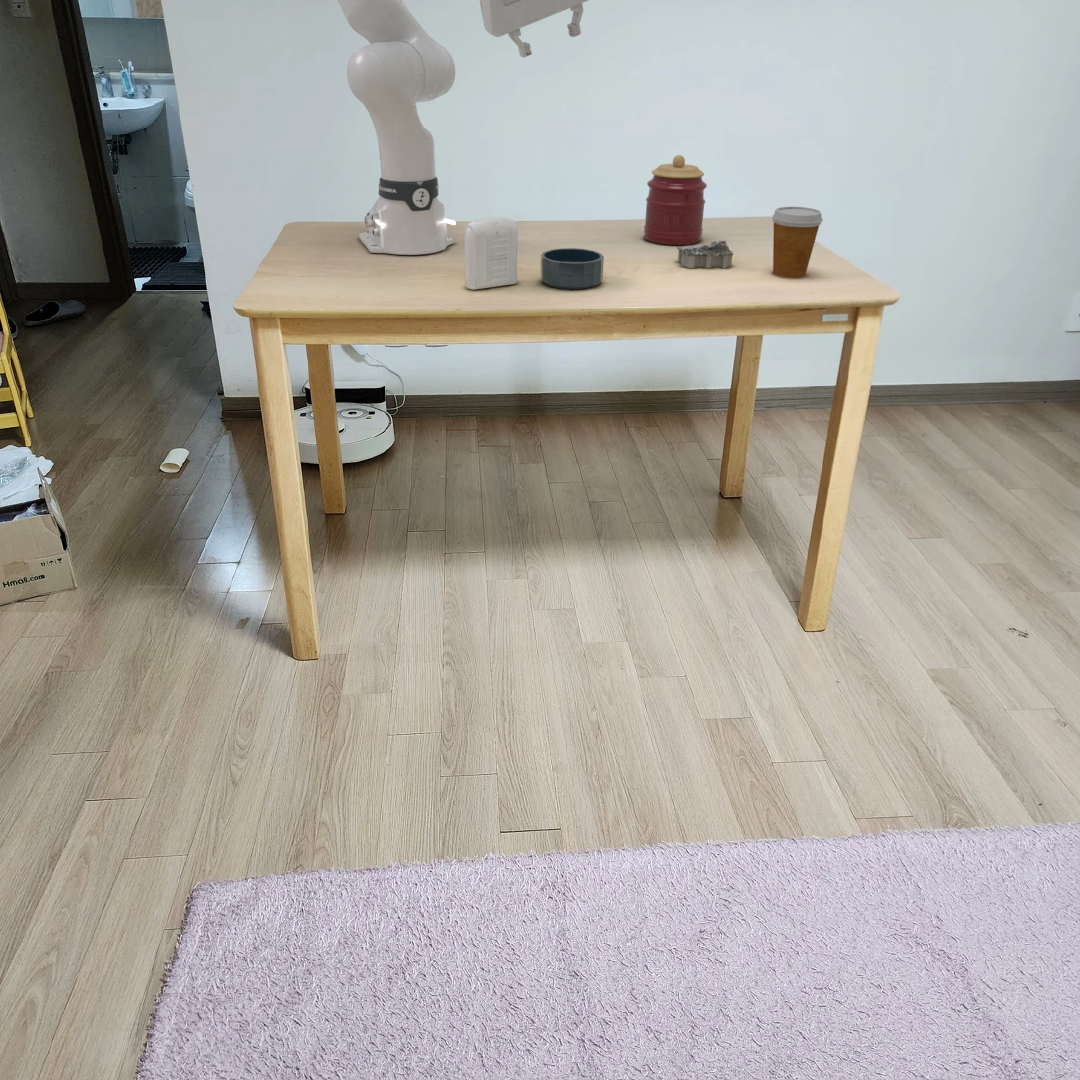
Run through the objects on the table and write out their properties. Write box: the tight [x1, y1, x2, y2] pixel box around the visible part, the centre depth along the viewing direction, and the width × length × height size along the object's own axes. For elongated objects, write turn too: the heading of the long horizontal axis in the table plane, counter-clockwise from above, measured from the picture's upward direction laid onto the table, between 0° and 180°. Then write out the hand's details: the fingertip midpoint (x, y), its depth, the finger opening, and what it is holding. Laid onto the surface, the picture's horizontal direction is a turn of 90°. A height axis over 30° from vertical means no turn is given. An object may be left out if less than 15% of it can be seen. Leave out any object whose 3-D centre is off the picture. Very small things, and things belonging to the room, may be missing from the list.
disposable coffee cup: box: [771, 206, 824, 279], centre depth 182 cm, size 10×10×12 cm
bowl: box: [540, 247, 605, 290], centre depth 176 cm, size 12×12×5 cm
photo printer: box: [464, 215, 519, 291], centre depth 172 cm, size 10×4×12 cm, turn 123°
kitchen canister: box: [643, 154, 708, 246], centre depth 206 cm, size 13×13×18 cm
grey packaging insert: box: [676, 240, 735, 269], centre depth 190 cm, size 11×8×4 cm
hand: (550, 45), depth 157 cm, fingers open, 8 cm apart
